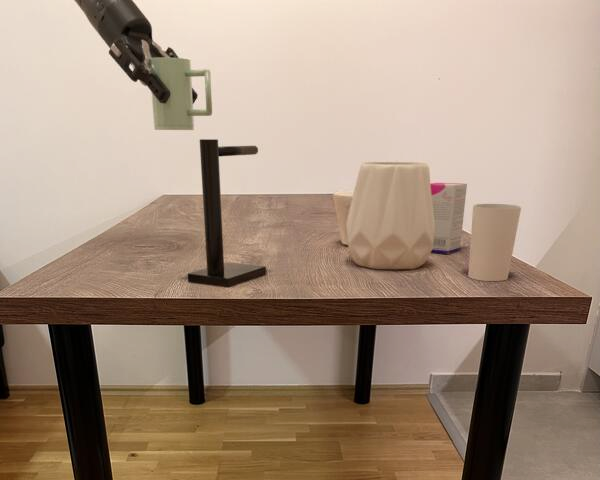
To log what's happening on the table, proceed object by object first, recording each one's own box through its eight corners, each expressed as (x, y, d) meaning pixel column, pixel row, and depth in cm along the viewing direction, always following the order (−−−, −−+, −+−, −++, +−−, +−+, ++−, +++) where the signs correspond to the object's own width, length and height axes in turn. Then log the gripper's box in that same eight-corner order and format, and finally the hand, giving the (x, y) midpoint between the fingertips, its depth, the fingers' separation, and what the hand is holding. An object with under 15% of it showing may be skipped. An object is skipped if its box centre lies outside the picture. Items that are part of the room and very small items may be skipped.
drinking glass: (467, 281, 92) (475, 208, 88) (463, 271, 98) (470, 203, 94) (514, 282, 91) (525, 209, 87) (507, 273, 97) (517, 204, 93)
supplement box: (460, 250, 116) (468, 182, 111) (448, 254, 111) (455, 184, 106) (431, 247, 119) (437, 181, 114) (418, 251, 114) (423, 183, 109)
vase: (326, 262, 104) (329, 162, 98) (384, 253, 113) (390, 160, 106) (392, 276, 95) (399, 166, 88) (449, 264, 103) (460, 163, 97)
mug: (146, 129, 104) (140, 58, 99) (171, 130, 109) (166, 62, 104) (200, 129, 99) (196, 55, 95) (223, 130, 104) (221, 59, 100)
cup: (359, 251, 114) (362, 196, 110) (321, 244, 121) (321, 192, 117) (395, 245, 120) (399, 193, 116) (356, 239, 127) (358, 189, 123)
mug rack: (228, 287, 88) (222, 139, 80) (188, 282, 91) (177, 139, 83) (278, 270, 99) (276, 138, 91) (240, 266, 102) (235, 138, 94)
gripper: (135, 43, 110) (195, 119, 110) (72, 32, 99) (139, 117, 99) (157, 4, 106) (219, 83, 106) (93, -12, 94) (163, 77, 94)
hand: (180, 99), depth 102 cm, fingers closed on mug, 6 cm apart
